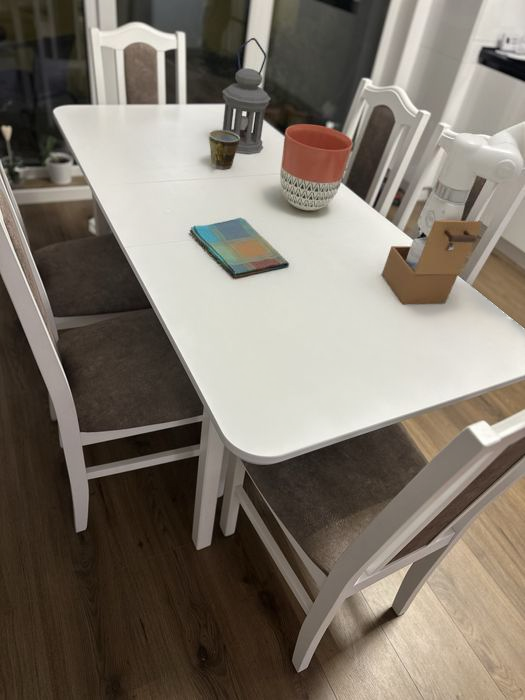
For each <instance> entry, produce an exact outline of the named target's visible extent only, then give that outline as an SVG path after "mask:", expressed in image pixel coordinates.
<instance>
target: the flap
mask: <svg viewBox="0 0 525 700" xmlns="http://www.w3.org/2000/svg"><path fill="white" fill-rule="evenodd" d="M483 223H484V221H482V220H461V221H449V220H435V221H434V223H433V226H432V228H431V231H430V233H429V236H428V239H427V241H426V244H425V246H424V249H423V251H422V254H421V256H420V259H419V261H418V264H417V267H416V269H415V272H414V274H415V275H429V274H458V275H460V274H461V272H462V269H463V267H464V265H465V263H466V261H467V258H468V256H469V253H470V252H471V250H472V248H473V245H474V243H475V242H476V241H477V240H476V239H477V236H478V234H479V232H480V230H481V228H482V225H483ZM449 243H453V244H454V249H453V250H452V251H446V249H447V246H448V244H449Z"/></svg>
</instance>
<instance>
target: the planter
mask: <svg viewBox="0 0 525 700" xmlns="http://www.w3.org/2000/svg"><path fill="white" fill-rule="evenodd" d="M353 145H354V143H353V140H352V139H351V137H349V136H348V135H347V134H344V133H343V132H341V131H339V130H336V129H333V128H330V127H327V126H323V125H318V124H307V123H299V124H292V125H290V126H288V127H287V128H286V129H285V132H284V139H283V148H282V155H281V163H280V173H279V174H280V175H279V176H280V177H279V179H280V188H281V192H282V194H283V196H284V198H285V199H286V200H287V202H288V203H289V204H290V205H292V206H293V207H294V208H296V209H298V210H301V211H308V212H311V211H312V212H313V211H317V210H319V209H322V208H324V207H326V206H327V205H329V204H330V203H331V202H332V201H333V199H334V198H335V197H336V195H337V193H338V191H339V189H340V186H341V183H342V180H343V178H344V174H345V171H346V168H347V164H348V162H349V158H350V156H351V152H352V148H353Z"/></svg>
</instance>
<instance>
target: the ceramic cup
mask: <svg viewBox="0 0 525 700" xmlns="http://www.w3.org/2000/svg"><path fill="white" fill-rule="evenodd" d="M208 139H209V140H208V141H209V149H210V151H209V153H210V162H211V163H210V164H211V166H213V167H214V168H215V169H218V170H222V171H226V170H230V169H231V167H232V166H233V163H234V160H235V157H236V154H237V153H236V150H237V148H238V144H239V141H240V137H239V136H238V135H237V134H235V133H233V132H230V131H225V130H223V129H216V130H212V131H210V132H209V134H208Z"/></svg>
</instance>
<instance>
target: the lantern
mask: <svg viewBox="0 0 525 700" xmlns="http://www.w3.org/2000/svg"><path fill="white" fill-rule="evenodd" d="M251 41H254V42H255V44H256V45H257V47H258V48H259V49H260V51H261V52H262V55H263V61H262V63H261V67H260V69H259V71H257V70H255V69H253V68H242V67H241V58H240V51H241V49H242V48H243V47H244V46H246V45H248V43H250V42H251ZM236 53H237V66H238V70H237V72H235V77H234V78H235V81H236V83H232V84H230V85H229V86H227V87H226V88H224V89H223V90H222V91H221V93H222V94H223V96H222V98H223V100H224V101H225V102H224V113H223V121H222V130H225V131H230V132H233V133H235V134H237V135H238V136H239V137H240V141H239V144H238V148H237V150H236V153H235V154H239V155H240V154H241V155H253V154H259V153H260V154H261V151H262V150H263V149H264V146H263V140H262V132H263V128H264V127H263V126H264V121H265V112H266V108H267V107H268V106H269V105H270V102H271V99H272V97H270V96H269V94H268V93H267V92H266V91H265V90H264V89H263V88H262V87H261V86H260V85H261V84H262V82H263V76H262V74H261V73H262V72H263V69H264V65H265V62H266V61H267V53H266V52H265V50H264V49H263V47H262V46H261V44H260V43H259V41H258V39H257V38H256V37H250V39H248V40H247V41H246V42H245V43H243V44H242V45H240V46H239V47H238V48H237V51H236ZM234 111H235V114H234ZM243 112H245V113H246V114H245V115H243ZM233 120H234V123H233Z"/></svg>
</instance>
